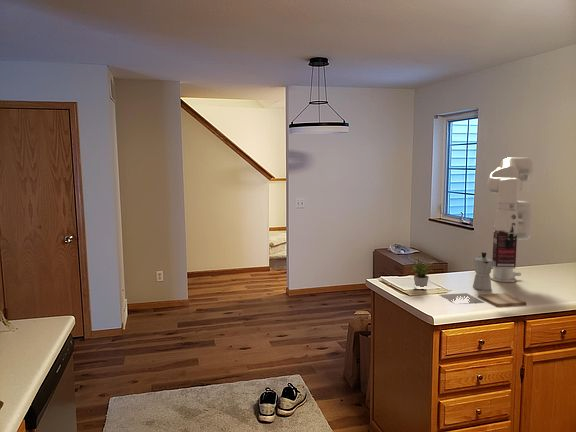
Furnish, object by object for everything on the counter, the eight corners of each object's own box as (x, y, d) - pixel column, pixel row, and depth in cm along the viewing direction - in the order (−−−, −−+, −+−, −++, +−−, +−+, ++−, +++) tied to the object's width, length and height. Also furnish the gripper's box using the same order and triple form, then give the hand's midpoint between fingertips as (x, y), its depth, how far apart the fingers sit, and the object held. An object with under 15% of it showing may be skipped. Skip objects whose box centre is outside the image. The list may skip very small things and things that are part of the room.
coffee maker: (495, 292, 209) (497, 255, 207) (475, 291, 211) (477, 254, 209) (487, 284, 224) (489, 249, 222) (469, 283, 226) (470, 248, 224)
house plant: (397, 287, 217) (398, 255, 215) (413, 282, 226) (414, 251, 224) (422, 294, 206) (423, 260, 205) (438, 288, 215) (439, 256, 213)
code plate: (466, 293, 208) (466, 293, 208) (484, 302, 194) (484, 302, 194) (439, 295, 205) (439, 294, 205) (455, 304, 192) (455, 303, 192)
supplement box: (511, 266, 196) (513, 231, 194) (515, 269, 192) (518, 233, 190) (491, 266, 197) (493, 231, 195) (495, 268, 192) (497, 233, 190)
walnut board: (505, 295, 204) (505, 292, 204) (526, 304, 191) (526, 302, 190) (477, 296, 202) (478, 294, 202) (496, 306, 188) (497, 303, 188)
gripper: (528, 208, 183) (525, 250, 186) (502, 204, 200) (499, 243, 202) (512, 208, 182) (509, 251, 184) (487, 205, 199) (485, 244, 201)
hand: (504, 246), depth 193 cm, fingers closed on supplement box, 5 cm apart
